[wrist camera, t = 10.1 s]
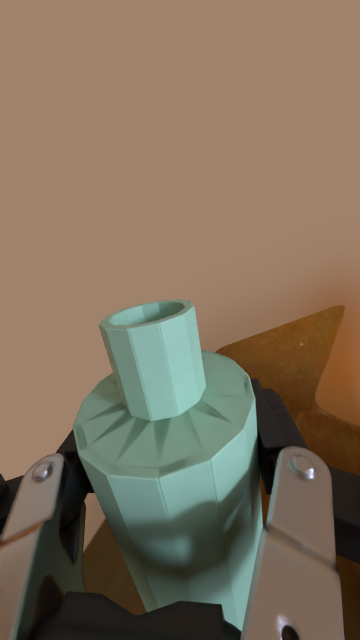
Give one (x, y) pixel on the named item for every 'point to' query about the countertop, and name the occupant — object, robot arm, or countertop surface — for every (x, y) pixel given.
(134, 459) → the bottle
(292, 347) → the countertop surface
